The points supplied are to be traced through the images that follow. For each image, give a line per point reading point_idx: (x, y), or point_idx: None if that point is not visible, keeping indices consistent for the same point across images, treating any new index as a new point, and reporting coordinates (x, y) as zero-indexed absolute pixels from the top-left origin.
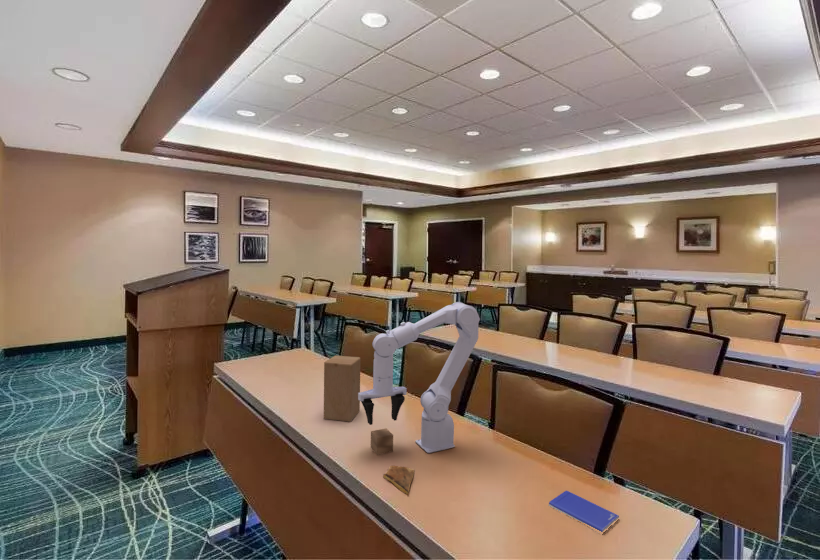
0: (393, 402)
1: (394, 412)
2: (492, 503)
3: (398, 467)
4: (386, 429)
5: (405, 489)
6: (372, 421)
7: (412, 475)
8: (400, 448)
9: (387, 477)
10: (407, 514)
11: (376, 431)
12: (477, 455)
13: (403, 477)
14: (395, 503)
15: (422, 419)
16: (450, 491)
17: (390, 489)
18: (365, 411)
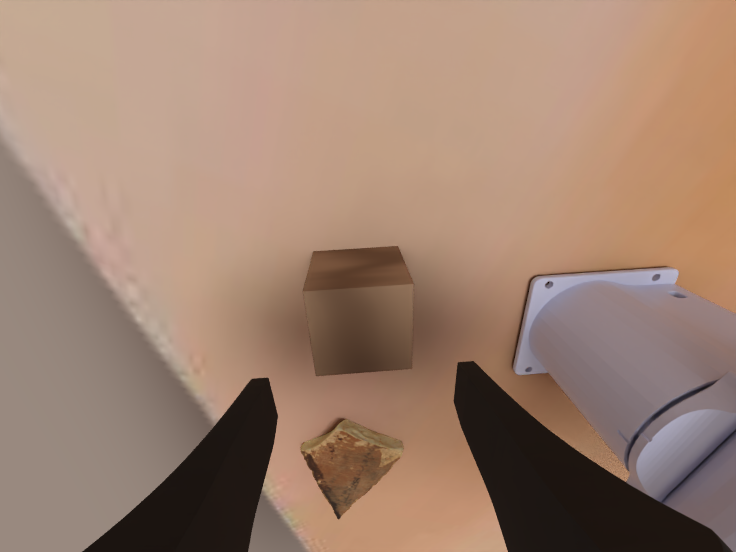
0: (531, 522)
1: (479, 447)
2: (493, 547)
3: (357, 446)
4: (406, 299)
5: (336, 511)
6: (271, 445)
7: (382, 475)
8: (440, 303)
9: (308, 465)
10: (313, 544)
11: (336, 305)
12: None
13: (351, 481)
14: (299, 519)
15: (625, 428)
16: (442, 512)
17: (304, 484)
18: (191, 459)
